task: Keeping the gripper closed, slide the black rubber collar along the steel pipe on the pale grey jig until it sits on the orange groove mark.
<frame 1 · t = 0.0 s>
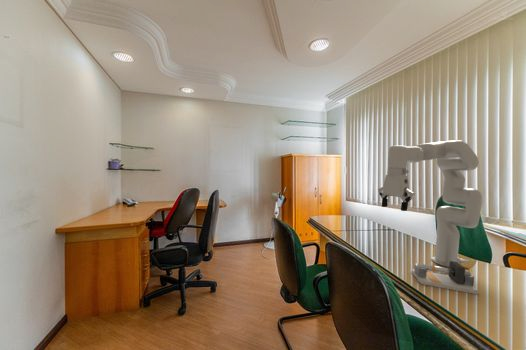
hand: (393, 208, 102), 31 cm above the table, tool pointing down, fingers open, 9 cm apart
collar: (456, 272, 96), point 5 cm above the table, slide at 0.0 cm
pipe jig: (441, 282, 98), on the table
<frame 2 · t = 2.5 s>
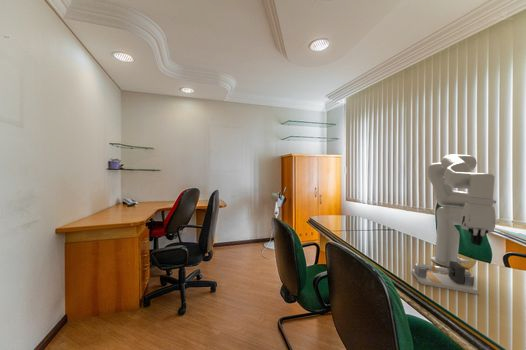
hand: (476, 244, 94), 19 cm above the table, tool pointing down, fingers closed
nothing on the table moved.
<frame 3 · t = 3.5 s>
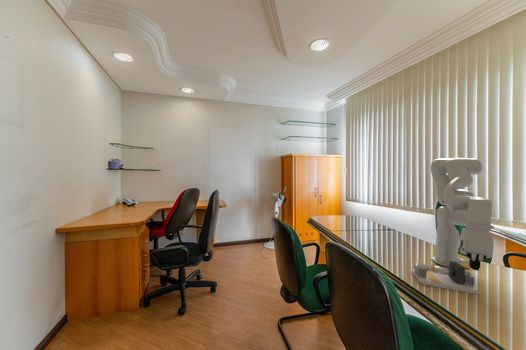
hand: (474, 269, 94), 8 cm above the table, tool pointing down, fingers closed
nothing on the table moved.
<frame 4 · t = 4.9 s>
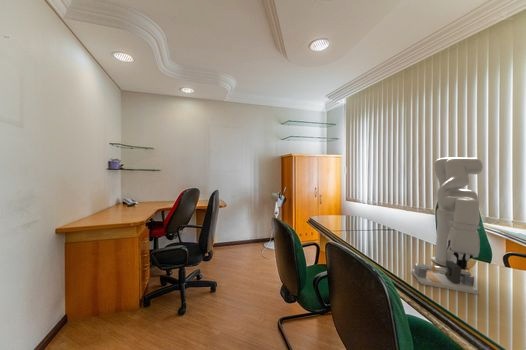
hand: (461, 268, 96), 8 cm above the table, tool pointing down, fingers closed
collar: (452, 271, 97), point 5 cm above the table, slide at 1.4 cm, touching gripper
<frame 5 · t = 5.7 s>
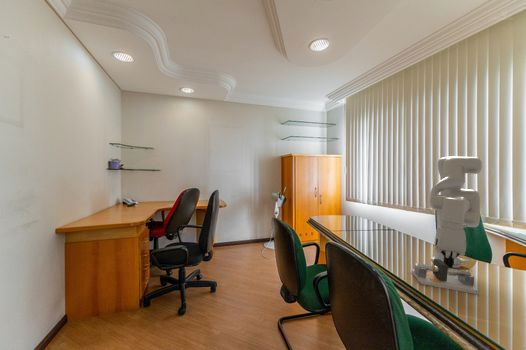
hand: (448, 266, 97), 8 cm above the table, tool pointing down, fingers closed
collar: (440, 269, 98), point 5 cm above the table, slide at 6.0 cm, touching gripper
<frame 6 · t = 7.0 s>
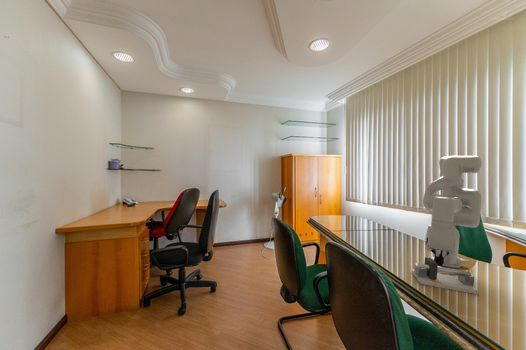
hand: (438, 264, 98), 8 cm above the table, tool pointing down, fingers closed
collar: (430, 268, 99), point 5 cm above the table, slide at 9.7 cm, touching gripper
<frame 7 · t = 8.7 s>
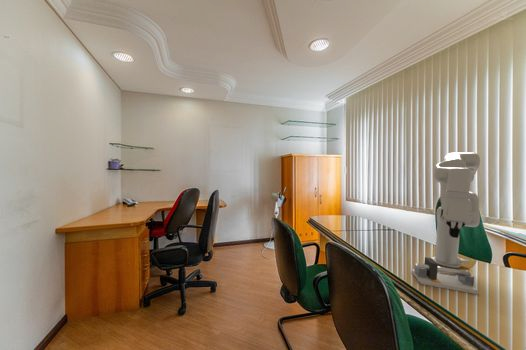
hand: (453, 236, 97), 21 cm above the table, tool pointing down, fingers closed
collar: (430, 268, 99), point 5 cm above the table, slide at 9.7 cm
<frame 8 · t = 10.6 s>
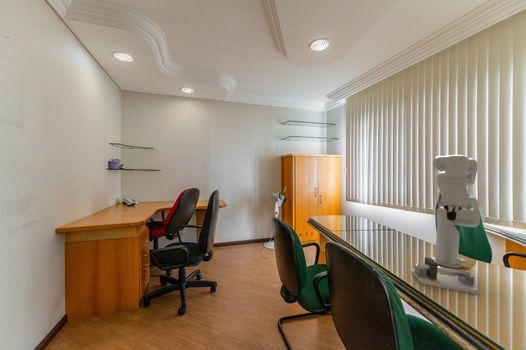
hand: (451, 220, 103), 27 cm above the table, tool pointing down, fingers closed
nothing on the table moved.
at the end: collar slide at 9.7 cm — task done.
